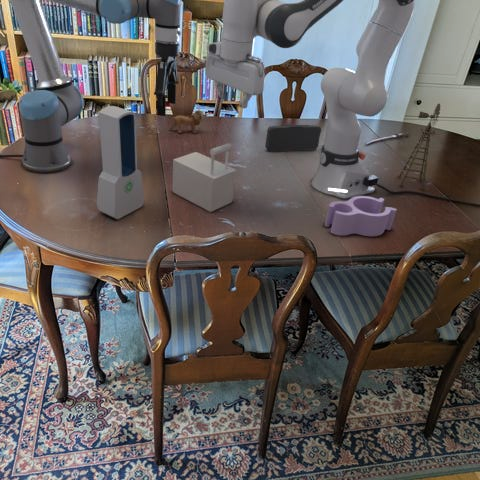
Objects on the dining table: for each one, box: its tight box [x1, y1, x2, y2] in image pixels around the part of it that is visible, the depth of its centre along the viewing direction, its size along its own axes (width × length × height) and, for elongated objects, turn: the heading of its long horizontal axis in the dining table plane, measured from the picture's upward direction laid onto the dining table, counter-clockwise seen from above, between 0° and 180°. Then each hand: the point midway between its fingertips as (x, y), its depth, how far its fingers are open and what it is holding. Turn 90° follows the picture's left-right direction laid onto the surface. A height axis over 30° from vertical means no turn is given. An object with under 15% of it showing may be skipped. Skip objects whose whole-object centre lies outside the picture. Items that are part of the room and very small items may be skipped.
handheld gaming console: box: [264, 124, 322, 152], centre depth 189 cm, size 23×3×10 cm, turn 108°
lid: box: [172, 142, 237, 183], centre depth 142 cm, size 18×10×9 cm, turn 50°
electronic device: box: [96, 105, 145, 220], centre depth 130 cm, size 12×8×30 cm, turn 148°
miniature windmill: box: [398, 102, 441, 191], centre depth 166 cm, size 9×8×30 cm
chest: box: [172, 162, 236, 213], centre depth 147 cm, size 17×10×10 cm, turn 50°
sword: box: [366, 133, 410, 146], centre depth 213 cm, size 31×3×1 cm, turn 126°
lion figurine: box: [168, 109, 204, 134], centre depth 195 cm, size 15×5×9 cm, turn 110°
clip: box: [324, 195, 398, 237], centre depth 141 cm, size 20×12×7 cm, turn 109°
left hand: (166, 109), depth 156 cm, fingers open, 13 cm apart
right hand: (231, 102), depth 131 cm, fingers open, 8 cm apart
